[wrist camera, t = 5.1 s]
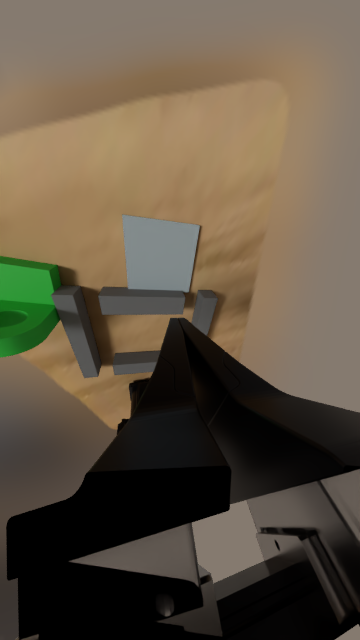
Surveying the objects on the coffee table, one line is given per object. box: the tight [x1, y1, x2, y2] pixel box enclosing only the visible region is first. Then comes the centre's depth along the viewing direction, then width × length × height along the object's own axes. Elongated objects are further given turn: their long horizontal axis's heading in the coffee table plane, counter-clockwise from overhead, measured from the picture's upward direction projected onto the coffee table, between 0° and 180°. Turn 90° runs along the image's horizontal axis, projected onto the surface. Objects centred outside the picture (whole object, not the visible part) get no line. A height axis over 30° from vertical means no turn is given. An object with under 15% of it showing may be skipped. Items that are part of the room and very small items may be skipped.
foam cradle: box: [51, 285, 218, 378], centre depth 23 cm, size 14×19×2 cm
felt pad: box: [122, 215, 200, 293], centre depth 18 cm, size 8×8×1 cm
